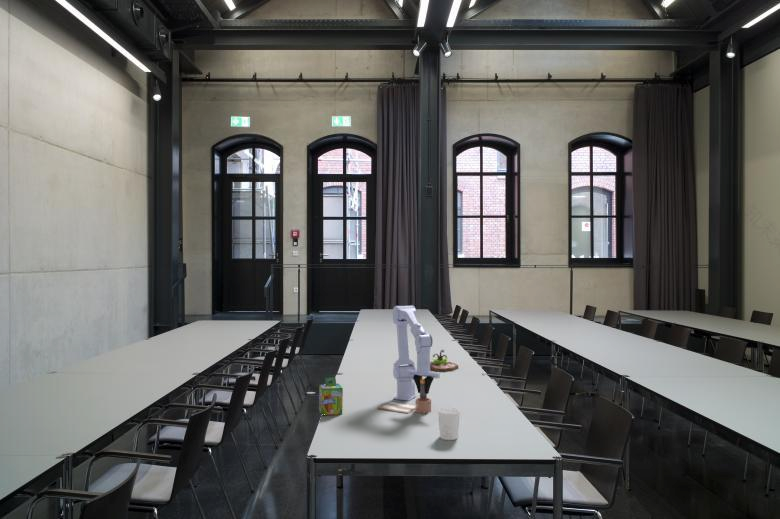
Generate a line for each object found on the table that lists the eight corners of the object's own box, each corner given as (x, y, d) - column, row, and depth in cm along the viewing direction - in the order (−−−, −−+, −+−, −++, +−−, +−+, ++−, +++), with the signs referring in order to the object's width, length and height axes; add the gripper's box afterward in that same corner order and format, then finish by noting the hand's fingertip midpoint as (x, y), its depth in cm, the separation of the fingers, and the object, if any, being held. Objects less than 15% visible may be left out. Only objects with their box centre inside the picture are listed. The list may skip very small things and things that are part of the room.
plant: (464, 368, 329) (464, 350, 329) (443, 373, 315) (444, 354, 315) (438, 363, 343) (438, 346, 343) (417, 368, 329) (417, 349, 329)
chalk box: (321, 416, 230) (321, 381, 230) (318, 410, 239) (318, 376, 239) (343, 414, 232) (343, 380, 232) (339, 408, 241) (339, 375, 241)
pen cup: (419, 408, 243) (419, 396, 243) (432, 410, 240) (432, 398, 240) (413, 411, 237) (413, 400, 237) (427, 413, 234) (427, 402, 234)
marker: (421, 396, 240) (421, 378, 240) (427, 397, 239) (428, 379, 239) (418, 397, 238) (418, 379, 238) (425, 398, 236) (425, 380, 236)
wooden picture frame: (390, 402, 252) (390, 401, 252) (419, 406, 245) (419, 405, 245) (377, 409, 241) (377, 407, 241) (408, 413, 234) (408, 412, 234)
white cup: (457, 433, 208) (457, 407, 208) (461, 441, 200) (461, 413, 200) (437, 434, 208) (437, 407, 208) (439, 441, 200) (439, 414, 200)
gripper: (404, 361, 238) (404, 392, 238) (435, 365, 231) (435, 397, 231) (411, 359, 244) (411, 389, 244) (441, 362, 238) (441, 393, 238)
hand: (423, 392), depth 238 cm, fingers closed on marker, 3 cm apart
